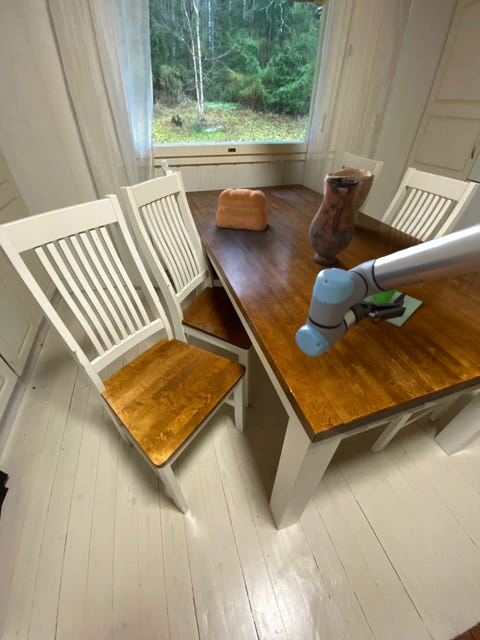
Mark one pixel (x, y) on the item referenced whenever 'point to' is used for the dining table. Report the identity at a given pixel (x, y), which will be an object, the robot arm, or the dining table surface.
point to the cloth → (409, 303)
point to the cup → (384, 296)
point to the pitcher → (333, 221)
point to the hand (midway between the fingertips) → (380, 286)
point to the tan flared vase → (363, 186)
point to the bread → (242, 210)
